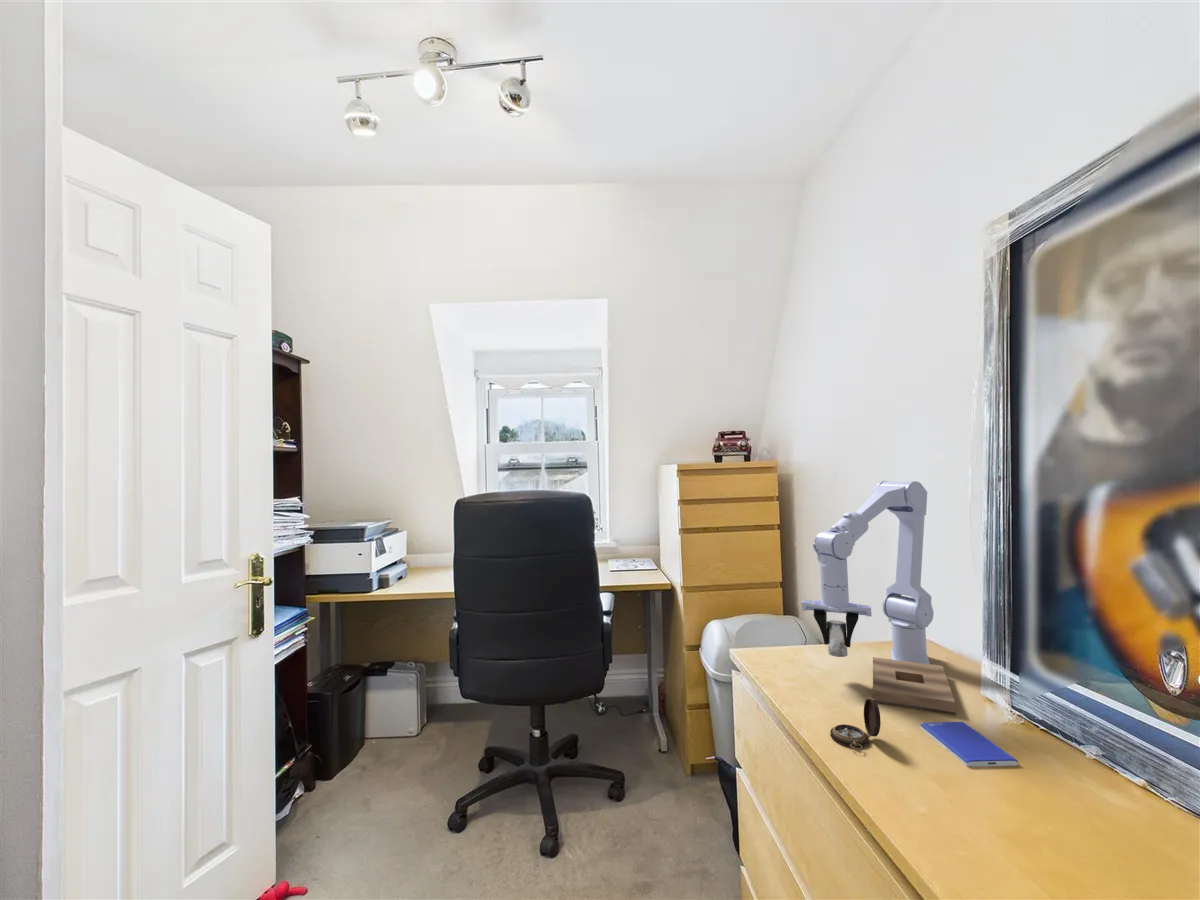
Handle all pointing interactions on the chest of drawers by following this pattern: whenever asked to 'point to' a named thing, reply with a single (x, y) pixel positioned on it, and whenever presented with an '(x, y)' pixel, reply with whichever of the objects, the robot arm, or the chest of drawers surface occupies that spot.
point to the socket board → (912, 685)
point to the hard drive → (967, 744)
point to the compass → (854, 734)
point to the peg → (837, 638)
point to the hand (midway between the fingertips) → (837, 644)
